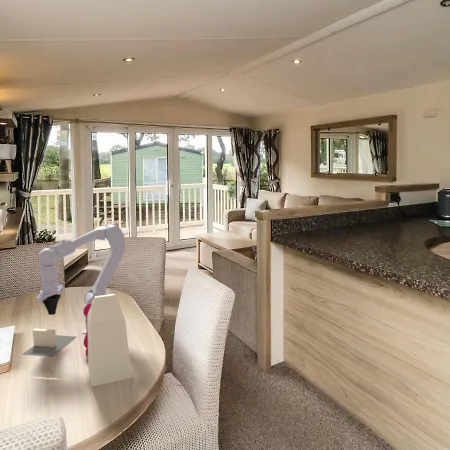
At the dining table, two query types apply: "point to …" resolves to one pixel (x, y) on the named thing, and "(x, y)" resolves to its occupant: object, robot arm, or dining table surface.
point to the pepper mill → (85, 311)
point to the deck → (44, 337)
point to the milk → (107, 342)
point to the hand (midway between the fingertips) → (52, 314)
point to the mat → (50, 351)
